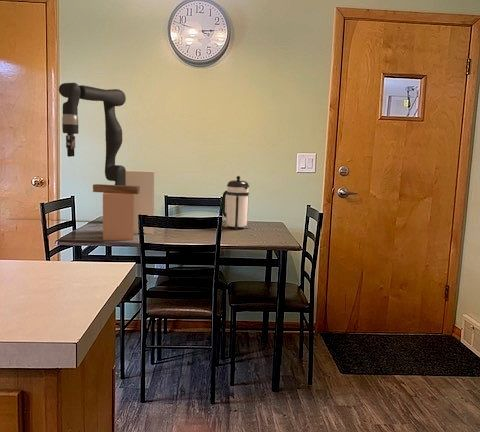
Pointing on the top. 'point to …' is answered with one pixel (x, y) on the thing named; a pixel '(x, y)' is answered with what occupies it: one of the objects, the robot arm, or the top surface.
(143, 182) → the tall plinth
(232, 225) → the coffee press
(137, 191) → the walnut bar
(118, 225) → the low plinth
